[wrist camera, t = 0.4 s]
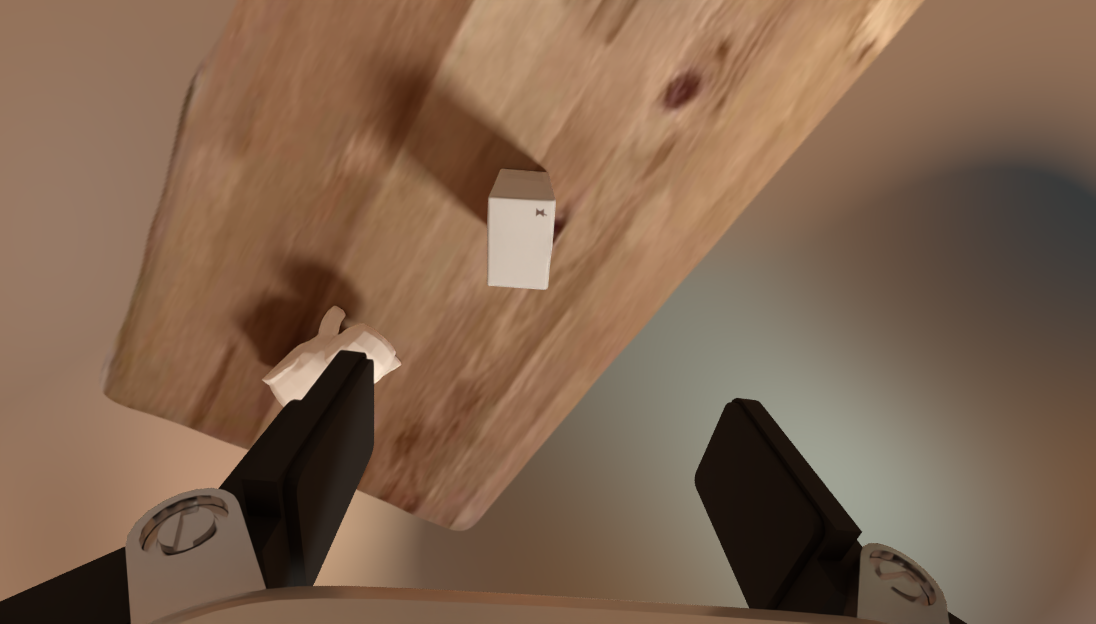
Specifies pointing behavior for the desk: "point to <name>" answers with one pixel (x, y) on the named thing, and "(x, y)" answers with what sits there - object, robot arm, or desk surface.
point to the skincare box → (520, 229)
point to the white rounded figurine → (328, 356)
